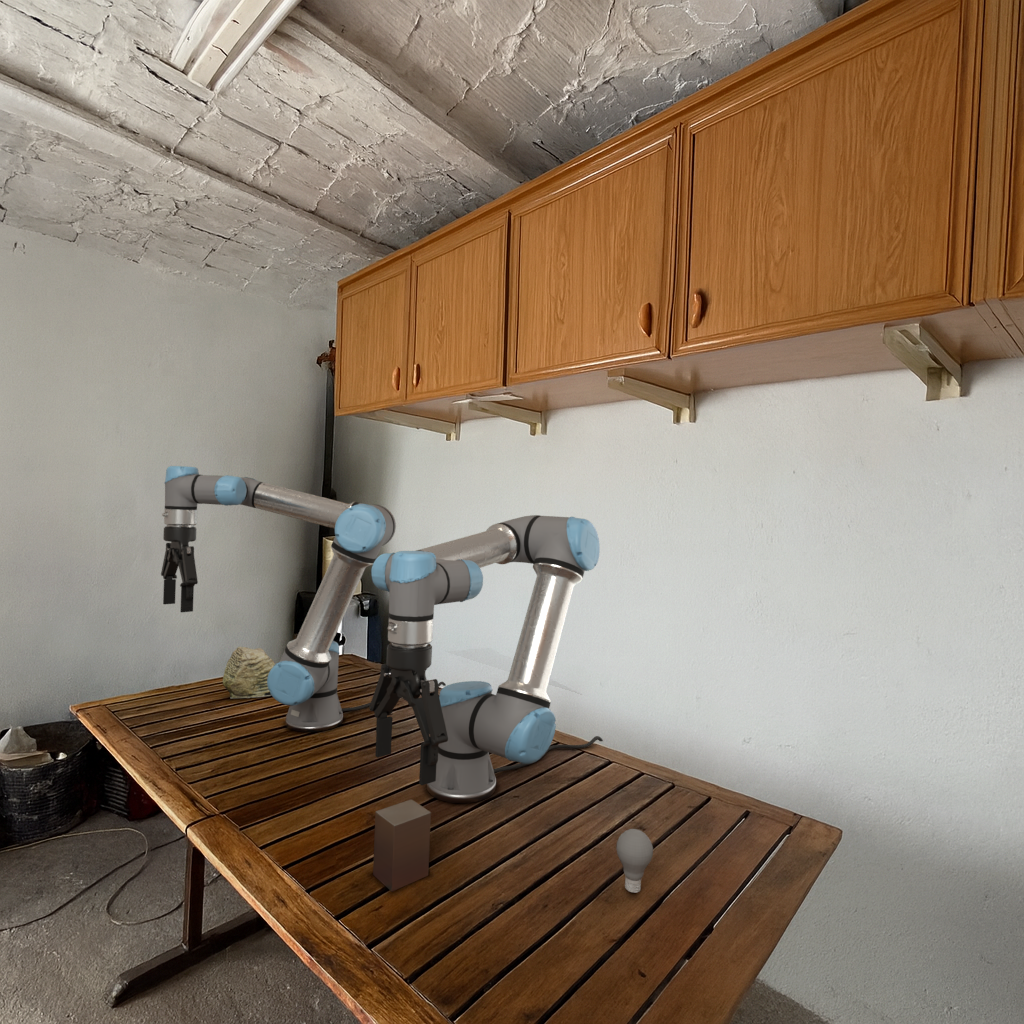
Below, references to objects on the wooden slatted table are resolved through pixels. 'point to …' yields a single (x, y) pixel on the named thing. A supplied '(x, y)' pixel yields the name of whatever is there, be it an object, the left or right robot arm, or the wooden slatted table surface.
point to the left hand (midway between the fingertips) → (177, 607)
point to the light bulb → (634, 857)
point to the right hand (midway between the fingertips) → (404, 768)
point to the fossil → (248, 673)
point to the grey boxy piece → (401, 844)
